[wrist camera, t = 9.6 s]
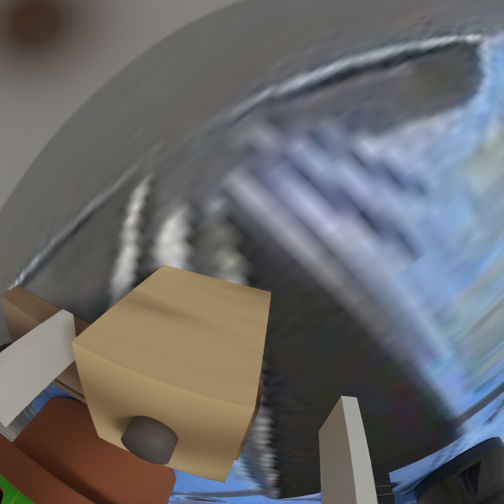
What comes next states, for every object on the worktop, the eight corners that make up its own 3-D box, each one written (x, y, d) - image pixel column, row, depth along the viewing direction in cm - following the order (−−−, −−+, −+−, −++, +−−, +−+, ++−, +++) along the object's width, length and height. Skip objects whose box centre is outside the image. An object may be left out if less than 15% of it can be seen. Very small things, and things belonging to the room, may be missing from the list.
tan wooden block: (231, 427, 18) (207, 524, 9) (158, 405, 18) (113, 491, 9) (271, 292, 14) (250, 435, 6) (164, 264, 14) (53, 358, 6)
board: (242, 436, 18) (237, 460, 15) (32, 346, 19) (17, 358, 16) (263, 380, 16) (259, 409, 13) (19, 285, 17) (-1, 295, 14)
